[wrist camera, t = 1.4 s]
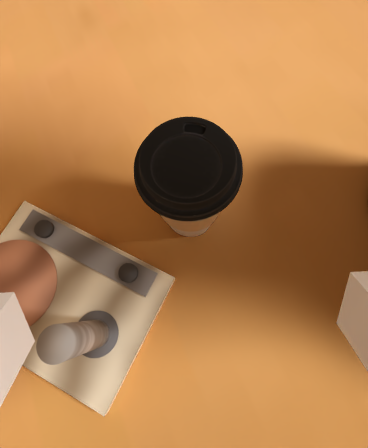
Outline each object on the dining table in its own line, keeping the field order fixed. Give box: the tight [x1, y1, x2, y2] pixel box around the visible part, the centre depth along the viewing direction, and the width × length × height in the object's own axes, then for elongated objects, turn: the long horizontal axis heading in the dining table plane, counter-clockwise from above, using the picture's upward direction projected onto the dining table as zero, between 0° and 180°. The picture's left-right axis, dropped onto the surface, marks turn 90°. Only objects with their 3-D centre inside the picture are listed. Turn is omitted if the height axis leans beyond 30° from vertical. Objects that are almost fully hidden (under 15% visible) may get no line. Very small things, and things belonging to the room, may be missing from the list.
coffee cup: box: [134, 117, 243, 237], centre depth 30 cm, size 9×9×15 cm
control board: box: [0, 201, 175, 416], centre depth 29 cm, size 22×16×12 cm
